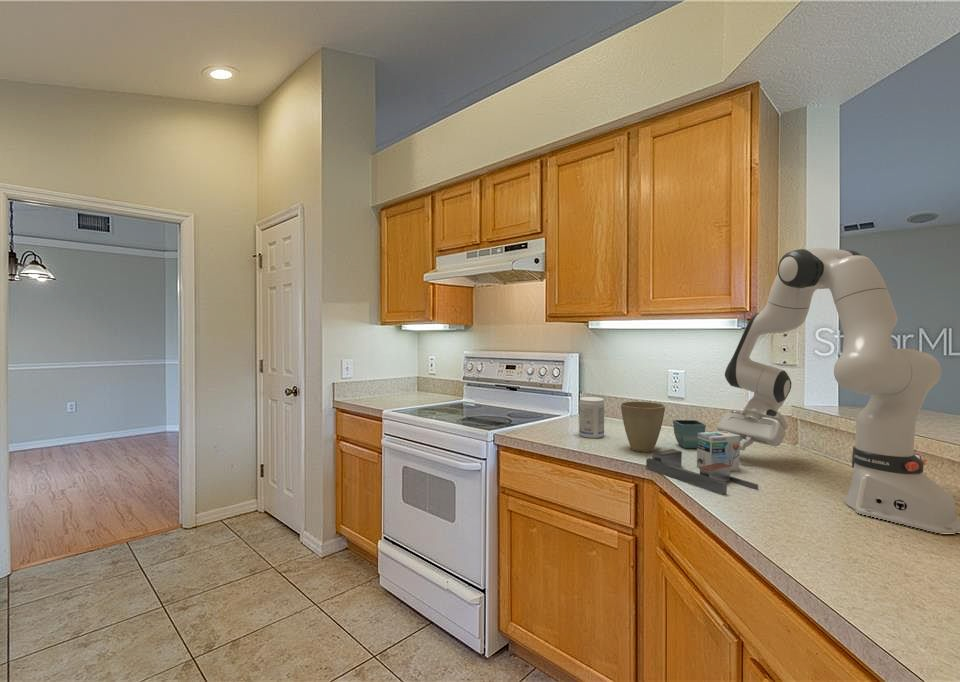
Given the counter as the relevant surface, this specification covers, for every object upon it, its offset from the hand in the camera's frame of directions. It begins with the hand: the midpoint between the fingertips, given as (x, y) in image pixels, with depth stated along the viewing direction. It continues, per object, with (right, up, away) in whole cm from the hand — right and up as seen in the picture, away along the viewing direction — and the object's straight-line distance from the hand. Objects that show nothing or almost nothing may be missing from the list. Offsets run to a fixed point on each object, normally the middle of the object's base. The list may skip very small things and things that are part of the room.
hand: (738, 448), depth 158 cm
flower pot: (-7, -4, +21) cm, 23 cm away
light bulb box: (-9, -5, -5) cm, 11 cm away
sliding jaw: (-16, -6, -18) cm, 25 cm away
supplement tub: (-38, -3, +37) cm, 54 cm away
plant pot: (-25, -4, +17) cm, 31 cm away
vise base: (-19, -5, -14) cm, 24 cm away
